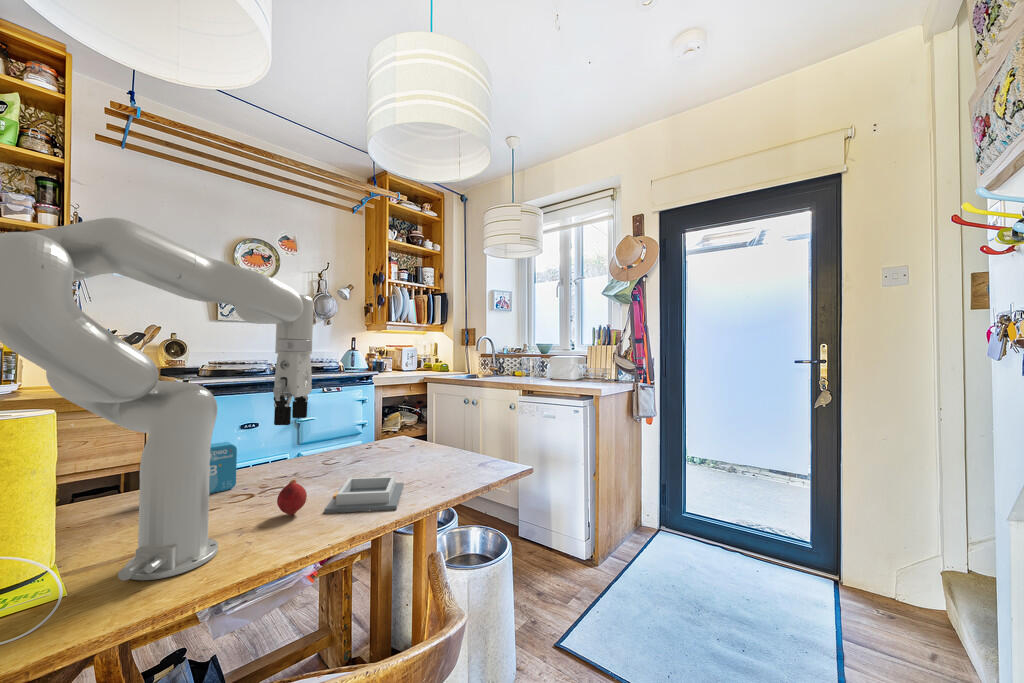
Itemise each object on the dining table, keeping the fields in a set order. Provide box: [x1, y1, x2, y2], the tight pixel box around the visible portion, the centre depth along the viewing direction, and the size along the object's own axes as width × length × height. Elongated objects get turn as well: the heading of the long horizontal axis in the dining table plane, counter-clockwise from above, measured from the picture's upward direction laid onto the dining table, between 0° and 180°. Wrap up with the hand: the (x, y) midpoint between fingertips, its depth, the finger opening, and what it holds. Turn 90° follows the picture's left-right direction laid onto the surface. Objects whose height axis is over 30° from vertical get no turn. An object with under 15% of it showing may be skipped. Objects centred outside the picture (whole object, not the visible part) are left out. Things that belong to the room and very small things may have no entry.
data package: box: [209, 441, 238, 495], centre depth 104 cm, size 12×4×12 cm, turn 138°
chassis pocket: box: [324, 475, 405, 514], centre depth 101 cm, size 16×16×4 cm
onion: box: [276, 478, 308, 516], centre depth 91 cm, size 6×6×8 cm
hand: (291, 421), depth 93 cm, fingers open, 9 cm apart
